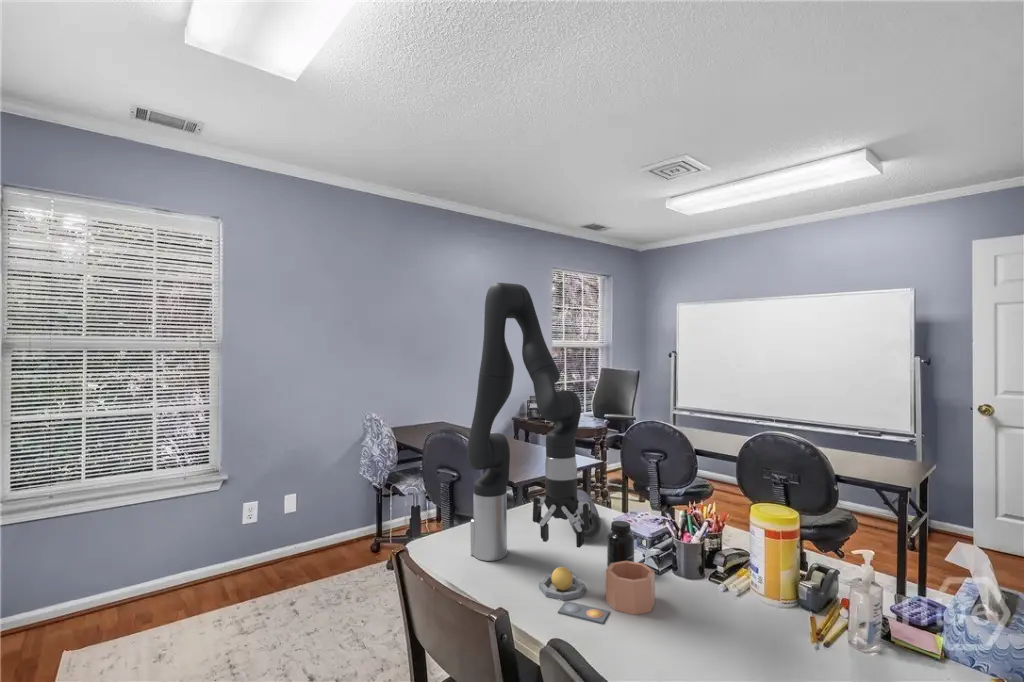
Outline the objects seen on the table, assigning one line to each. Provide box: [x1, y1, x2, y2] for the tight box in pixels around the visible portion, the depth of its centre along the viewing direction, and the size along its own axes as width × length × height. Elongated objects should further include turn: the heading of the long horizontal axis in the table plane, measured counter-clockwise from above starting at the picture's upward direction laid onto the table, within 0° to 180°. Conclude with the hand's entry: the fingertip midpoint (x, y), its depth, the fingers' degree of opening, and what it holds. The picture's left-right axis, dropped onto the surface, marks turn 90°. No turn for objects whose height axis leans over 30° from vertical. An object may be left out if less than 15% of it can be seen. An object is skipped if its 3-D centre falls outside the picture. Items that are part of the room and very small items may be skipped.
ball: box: [551, 566, 573, 591], centre depth 120 cm, size 5×5×5 cm
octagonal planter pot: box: [605, 561, 656, 616], centre depth 114 cm, size 10×10×7 cm
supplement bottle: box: [606, 520, 635, 569], centre depth 130 cm, size 7×7×12 cm
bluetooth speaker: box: [568, 488, 602, 540], centre depth 159 cm, size 23×9×10 cm, turn 179°
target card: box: [557, 600, 610, 625], centre depth 109 cm, size 10×5×1 cm, turn 64°
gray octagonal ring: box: [538, 574, 586, 601], centre depth 120 cm, size 10×10×1 cm
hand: (562, 543), depth 120 cm, fingers open, 8 cm apart
